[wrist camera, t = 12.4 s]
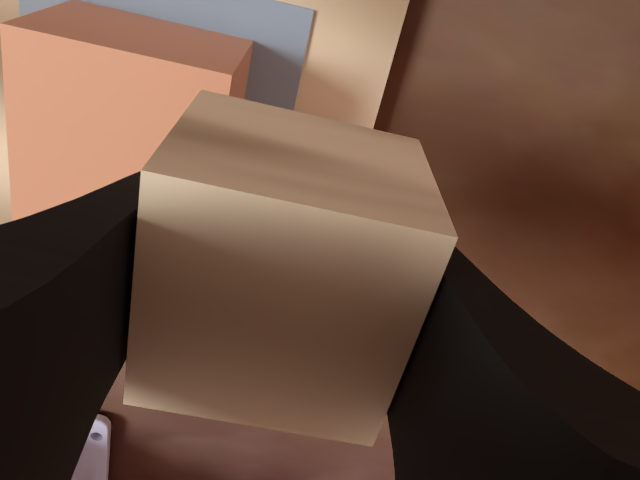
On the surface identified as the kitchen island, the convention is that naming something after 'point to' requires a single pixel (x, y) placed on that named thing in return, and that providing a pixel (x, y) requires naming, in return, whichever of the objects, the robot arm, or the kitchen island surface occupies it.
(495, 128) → the kitchen island surface
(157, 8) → the baseboard
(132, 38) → the terracotta base block
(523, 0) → the kitchen island surface
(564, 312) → the kitchen island surface
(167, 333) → the maple cap block
